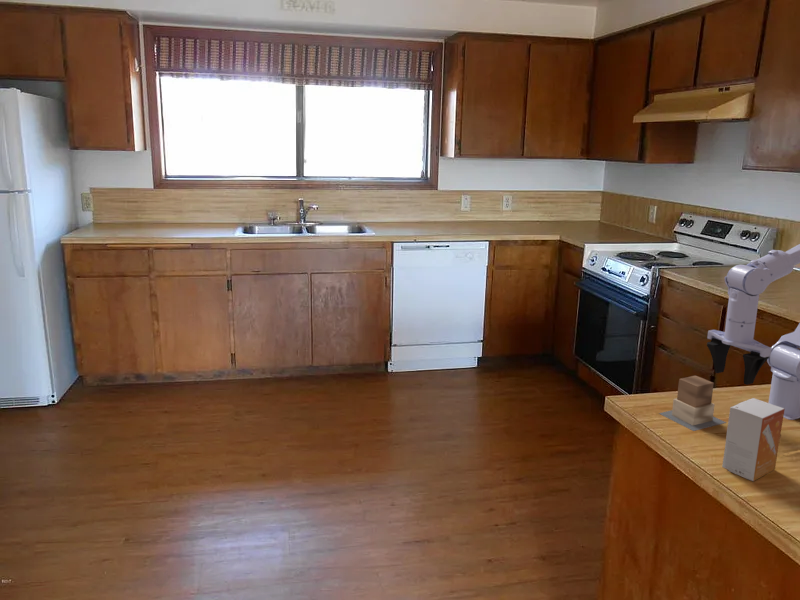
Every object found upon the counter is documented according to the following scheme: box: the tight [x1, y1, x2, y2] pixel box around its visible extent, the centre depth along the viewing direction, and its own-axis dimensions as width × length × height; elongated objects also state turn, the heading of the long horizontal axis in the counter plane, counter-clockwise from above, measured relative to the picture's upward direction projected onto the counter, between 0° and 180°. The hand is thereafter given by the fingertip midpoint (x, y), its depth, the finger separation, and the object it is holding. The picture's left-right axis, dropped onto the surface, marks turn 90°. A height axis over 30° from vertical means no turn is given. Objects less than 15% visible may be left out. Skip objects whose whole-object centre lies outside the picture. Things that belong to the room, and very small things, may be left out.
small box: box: [721, 397, 785, 482], centre depth 122 cm, size 8×6×13 cm
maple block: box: [671, 397, 716, 425], centre depth 144 cm, size 6×6×4 cm
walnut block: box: [676, 375, 715, 407], centre depth 143 cm, size 5×5×5 cm
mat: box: [658, 409, 727, 432], centre depth 145 cm, size 10×10×1 cm
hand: (733, 377), depth 143 cm, fingers open, 7 cm apart
